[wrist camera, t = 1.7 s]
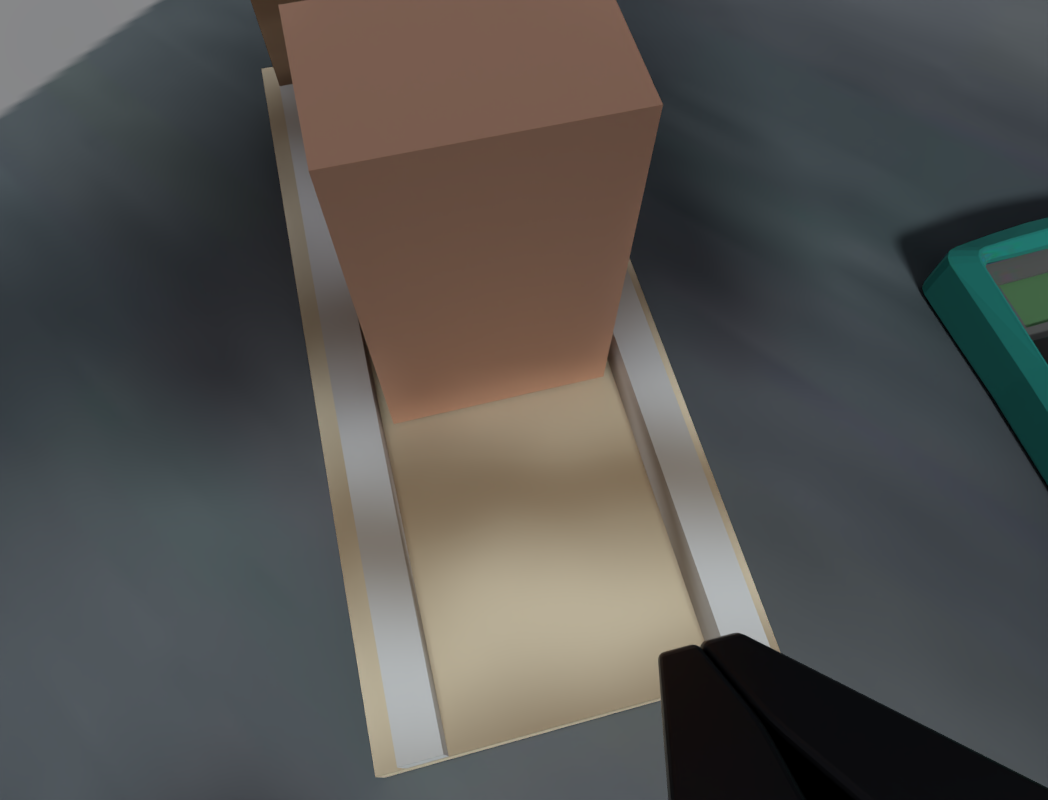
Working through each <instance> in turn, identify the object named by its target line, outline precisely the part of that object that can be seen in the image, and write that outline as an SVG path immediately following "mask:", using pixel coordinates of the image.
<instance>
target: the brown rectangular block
mask: <svg viewBox="0 0 1048 800" xmlns="http://www.w3.org/2000/svg"><path fill="white" fill-rule="evenodd" d="M278 6H279V12H280V17H281V23H282V28H283V34H284V39H285V45H286V50H287V55H288V61H289V66H290V72H291V77H292V83H293V88H294V94H295V99H296V105H297V110H298V116H299V121H300V127H301V132H302V138H303V143H304V149H305V154H306V160H307V165H308V171H309V174H310V177H311V180H312V183H313V186H314V189H315V192H316V195H317V198H318V200H319V203H320V206H321V209H322V212H323V215H324V218H325V221H326V224H327V227H328V230H329V233H330V236H331V239H332V242H333V245H334V248H335V251H336V254H337V257H338V260H339V263H340V266H341V269H342V272H343V275H344V278H345V281H346V284H347V287H348V290H349V293H350V296H351V299H352V302H353V305H354V307H355V310H356V313H357V316H358V319H359V322H360V325H361V328H362V331H363V334H364V337H365V340H366V343H367V346H368V349H369V352H370V355H371V358H372V361H373V364H374V367H375V370H376V373H377V376H378V379H379V382H380V385H381V388H382V391H383V394H384V397H385V400H386V403H387V406H388V409H389V412H390V415H391V417H392V420H393V423H394V424H396V423H401V422H405V421H409V420H414V419H418V418H423V417H427V416H431V415H436V414H440V413H445V412H449V411H453V410H458V409H462V408H467V407H471V406H475V405H480V404H484V403H489V402H493V401H497V400H502V399H506V398H511V397H515V396H519V395H524V394H528V393H533V392H537V391H541V390H546V389H550V388H554V387H559V386H563V385H568V384H572V383H576V382H581V381H585V380H590V379H594V378H598V377H603V376H604V371H605V367H606V362H607V357H608V353H609V348H610V344H611V339H612V335H613V330H614V326H615V321H616V316H617V312H618V307H619V303H620V298H621V294H622V289H623V285H624V280H625V275H626V271H627V266H628V262H629V257H630V253H631V248H632V243H633V239H634V234H635V230H636V225H637V221H638V216H639V212H640V207H641V202H642V198H643V193H644V189H645V184H646V180H647V175H648V171H649V166H650V161H651V157H652V152H653V148H654V143H655V139H656V134H657V130H658V125H659V120H660V116H661V111H662V107H663V104H662V101H661V99H660V97H659V95H658V93H657V90H656V88H655V86H654V84H653V81H652V79H651V77H650V75H649V73H648V70H647V68H646V66H645V64H644V61H643V59H642V57H641V55H640V52H639V50H638V48H637V46H636V44H635V41H634V39H633V37H632V35H631V32H630V30H629V28H628V26H627V24H626V21H625V19H624V17H623V15H622V12H621V10H620V8H619V6H618V4H617V1H616V0H305V1H298V2H292V3H286V4H280V5H278Z"/></svg>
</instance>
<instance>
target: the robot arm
mask: <svg viewBox="0 0 1048 800" xmlns="http://www.w3.org/2000/svg"><path fill="white" fill-rule="evenodd" d="M658 669H659V682H660V696H661V709H662V722H663V735H664V749H665V762H666V775H667V789H668V800H1048V788H1047V787H1045V786H1043V785H1041V784H1039V783H1037V782H1035V781H1033V780H1031V779H1029V778H1027V777H1025V776H1023V775H1021V774H1019V773H1017V772H1015V771H1013V770H1011V769H1009V768H1007V767H1005V766H1003V765H1001V764H999V763H997V762H995V761H993V760H991V759H989V758H987V757H985V756H983V755H982V754H980V753H978V752H976V751H974V750H972V749H970V748H968V747H966V746H964V745H962V744H960V743H958V742H956V741H954V740H952V739H950V738H948V737H946V736H944V735H942V734H940V733H938V732H936V731H934V730H932V729H930V728H928V727H926V726H924V725H922V724H920V723H918V722H916V721H914V720H912V719H910V718H908V717H906V716H904V715H902V714H900V713H899V712H897V711H895V710H893V709H891V708H889V707H887V706H885V705H883V704H881V703H879V702H877V701H875V700H873V699H871V698H869V697H867V696H865V695H863V694H861V693H859V692H857V691H855V690H853V689H851V688H849V687H847V686H845V685H843V684H841V683H839V682H837V681H835V680H833V679H831V678H829V677H827V676H825V675H823V674H821V673H819V672H817V671H816V670H814V669H812V668H810V667H808V666H806V665H804V664H802V663H800V662H798V661H796V660H794V659H792V658H790V657H788V656H786V655H784V654H782V653H780V652H778V651H776V650H774V649H772V648H770V647H768V646H766V645H764V644H762V643H760V642H758V641H756V640H754V639H752V638H750V637H748V636H746V635H744V634H741V633H731V634H728V635H724V636H720V637H717V638H713V639H709V640H706V641H704V642H703V643H702V644H701V645H700V647H699V646H697V645H693V644H692V645H687V646H683V647H680V648H676V649H672V650H669V651H665V652H662V653H661V654H660V655H659V657H658Z"/></svg>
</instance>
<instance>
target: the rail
mask: <svg viewBox="0 0 1048 800" xmlns="http://www.w3.org/2000/svg"><path fill="white" fill-rule="evenodd" d="M298 1H305V0H251V3H252V6H253V9H254V12H255V14H256V17H257V20H258V23H259V26H260V29H261V32H262V35H263V38H264V41H265V44H266V47H267V50H268V53H269V56H270V59H271V62H272V65H273V67H269V68H263V69H262V75H263V81H264V88H265V94H266V100H267V106H268V113H269V119H270V125H271V131H272V137H273V144H274V150H275V156H276V162H277V168H278V175H279V181H280V187H281V193H282V199H283V206H284V212H285V218H286V224H287V230H288V237H289V243H290V249H291V255H292V262H293V268H294V274H295V280H296V286H297V293H298V299H299V305H300V311H301V317H302V324H303V330H304V336H305V342H306V348H307V355H308V361H309V367H310V373H311V379H312V386H313V392H314V398H315V404H316V411H317V417H318V423H319V429H320V435H321V442H322V448H323V454H324V460H325V466H326V473H327V479H328V485H329V491H330V497H331V504H332V510H333V516H334V522H335V528H336V535H337V541H338V547H339V553H340V560H341V566H342V572H343V578H344V584H345V591H346V597H347V603H348V609H349V615H350V622H351V628H352V634H353V640H354V646H355V653H356V659H357V665H358V671H359V678H360V684H361V690H362V696H363V702H364V709H365V715H366V721H367V727H368V733H369V740H370V746H371V752H372V758H373V764H374V771H375V777H389V776H392V775H396V774H399V773H403V772H406V771H410V770H414V769H417V768H421V767H424V766H428V765H431V764H435V763H438V762H442V761H446V760H449V759H453V758H456V757H460V756H463V755H467V754H471V753H474V752H478V751H481V750H485V749H488V748H492V747H496V746H499V745H503V744H506V743H510V742H513V741H517V740H521V739H524V738H528V737H531V736H535V735H538V734H542V733H546V732H549V731H553V730H556V729H560V728H563V727H567V726H570V725H574V724H578V723H581V722H585V721H588V720H592V719H595V718H599V717H603V716H606V715H610V714H613V713H617V712H620V711H624V710H628V709H631V708H635V707H638V706H642V705H645V704H649V703H653V702H656V701H660V700H661V696H660V682H659V669H658V657H659V655H660V654H661V653H662V652H665V651H669V650H672V649H676V648H680V647H683V646H687V645H692V644H693V645H697V646H699V647H700V645H701V644H702V643H703V642H704V641H706V640H709V639H713V638H717V637H720V636H724V635H728V634H731V633H741V634H744V635H746V636H748V637H750V638H752V639H754V640H756V641H758V642H760V643H762V644H764V645H766V646H768V647H770V648H772V649H774V650H776V651H778V652H780V650H779V647H778V645H777V642H776V639H775V637H774V634H773V632H772V629H771V626H770V624H769V621H768V618H767V616H766V613H765V611H764V608H763V605H762V603H761V600H760V598H759V595H758V592H757V590H756V587H755V584H754V582H753V579H752V577H751V574H750V571H749V569H748V566H747V564H746V561H745V558H744V556H743V553H742V550H741V548H740V545H739V543H738V540H737V537H736V535H735V532H734V530H733V527H732V524H731V522H730V519H729V517H728V514H727V511H726V509H725V506H724V503H723V501H722V498H721V496H720V493H719V490H718V488H717V485H716V483H715V480H714V477H713V475H712V472H711V469H710V467H709V464H708V462H707V459H706V456H705V454H704V451H703V449H702V446H701V443H700V441H699V438H698V435H697V433H696V430H695V428H694V425H693V422H692V420H691V417H690V415H689V412H688V409H687V407H686V404H685V402H684V399H683V396H682V394H681V391H680V388H679V386H678V383H677V381H676V378H675V375H674V373H673V370H672V368H671V365H670V362H669V360H668V357H667V354H666V352H665V349H664V347H663V344H662V341H661V339H660V336H659V334H658V331H657V328H656V326H655V323H654V320H653V318H652V315H651V313H650V310H649V307H648V305H647V302H646V300H645V297H644V294H643V292H642V289H641V287H640V284H639V281H638V279H637V276H636V273H635V271H634V268H633V266H632V263H631V260H630V258H629V262H628V266H627V271H626V275H625V280H624V285H623V289H622V294H621V298H620V303H619V307H618V312H617V316H616V321H615V326H614V330H613V335H612V339H611V344H610V348H609V353H608V357H607V362H606V367H605V371H604V376H603V377H598V378H594V379H590V380H585V381H581V382H576V383H572V384H568V385H563V386H559V387H554V388H550V389H546V390H541V391H537V392H533V393H528V394H524V395H519V396H515V397H511V398H506V399H502V400H497V401H493V402H489V403H484V404H480V405H475V406H471V407H467V408H462V409H458V410H453V411H449V412H445V413H440V414H436V415H431V416H427V417H423V418H418V419H414V420H409V421H405V422H401V423H396V424H394V423H393V420H392V417H391V415H390V412H389V409H388V406H387V403H386V400H385V397H384V394H383V391H382V388H381V385H380V382H379V379H378V376H377V373H376V370H375V367H374V364H373V361H372V358H371V355H370V352H369V349H368V346H367V343H366V340H365V337H364V334H363V331H362V328H361V325H360V322H359V319H358V316H357V313H356V310H355V307H354V305H353V302H352V299H351V296H350V293H349V290H348V287H347V284H346V281H345V278H344V275H343V272H342V269H341V266H340V263H339V260H338V257H337V254H336V251H335V248H334V245H333V242H332V239H331V236H330V233H329V230H328V227H327V224H326V221H325V218H324V215H323V212H322V209H321V206H320V203H319V200H318V198H317V195H316V192H315V189H314V186H313V183H312V180H311V177H310V174H309V171H308V165H307V160H306V154H305V149H304V143H303V138H302V132H301V127H300V121H299V116H298V110H297V105H296V99H295V94H294V88H293V83H292V77H291V72H290V66H289V61H288V55H287V50H286V45H285V39H284V34H283V28H282V23H281V17H280V12H279V6H278V5H280V4H286V3H292V2H298ZM780 653H781V652H780Z"/></svg>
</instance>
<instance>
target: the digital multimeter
mask: <svg viewBox="0 0 1048 800" xmlns="http://www.w3.org/2000/svg"><path fill="white" fill-rule="evenodd" d="M1005 259H1006V260H1005ZM1001 260H1002V261H1001ZM997 261H998V262H997ZM992 262H994V263H992ZM988 263H990V264H988ZM922 289H923V292H924V295H925V296H926V298H927V299H928V301H929V303H930V304H931V306H932V307H933V309H934V310H935V312H936V313H937V315H938V316H939V318H940V319H941V321H942V322H943V324H944V326H945V327H946V329H947V330H948V332H949V333H950V335H951V336H952V338H953V339H954V341H955V342H956V344H957V345H958V346H959V348H960V349H961V351H962V352H963V354H964V355H965V357H966V358H967V360H968V361H969V363H970V364H971V366H972V367H973V369H974V370H975V372H976V373H977V375H978V376H979V378H980V379H981V381H982V382H983V384H984V385H985V387H986V388H987V390H988V391H989V393H990V394H991V395H992V397H993V398H994V400H995V402H996V403H997V405H998V406H999V408H1000V410H1001V411H1002V413H1003V415H1004V416H1005V418H1006V419H1007V421H1008V423H1009V424H1010V426H1011V428H1012V429H1013V431H1014V433H1015V434H1016V436H1017V437H1018V439H1019V441H1020V442H1021V444H1022V445H1023V447H1024V449H1025V450H1026V452H1027V453H1028V455H1029V457H1030V458H1031V460H1032V461H1033V463H1034V465H1035V466H1036V468H1037V469H1038V471H1039V473H1040V474H1041V476H1042V477H1043V479H1044V481H1045V482H1046V484H1047V485H1048V217H1047V218H1043V219H1039V220H1035V221H1031V222H1027V223H1024V224H1021V225H1018V226H1015V227H1011V228H1008V229H1005V230H1002V231H999V232H996V233H993V234H990V235H987V236H984V237H982V238H979V239H976V240H973V241H970V242H968V243H965V244H962V245H959V246H957V247H955V248H953V249H951V250H950V251H949V252H948V253H947V254H946V256H945V257H944V258H943V259H942V261H941V262H940V263H939V264H938V265H937V267H936V268H935V269H934V270H933V271H932V273H931V274H930V275H929V276H928V278H927V279H926V280H925V281H924V284H923V286H922ZM1035 345H1036V346H1035ZM1037 348H1038V349H1037ZM1042 356H1043V357H1042ZM1044 359H1045V360H1044ZM1046 362H1047V363H1046Z"/></svg>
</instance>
